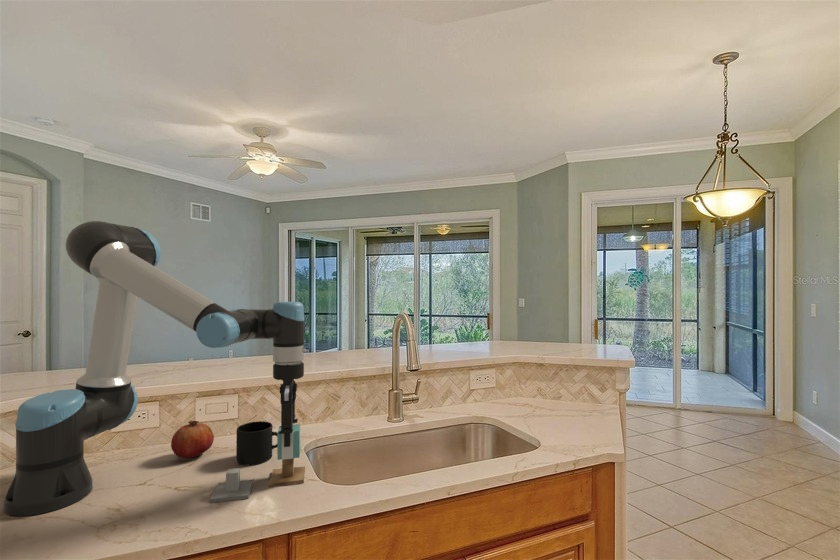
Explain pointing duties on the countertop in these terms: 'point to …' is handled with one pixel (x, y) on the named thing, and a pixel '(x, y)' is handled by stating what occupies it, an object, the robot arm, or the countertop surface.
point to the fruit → (192, 440)
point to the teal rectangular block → (295, 442)
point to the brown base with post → (287, 474)
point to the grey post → (232, 487)
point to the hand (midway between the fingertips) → (288, 453)
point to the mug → (254, 443)
